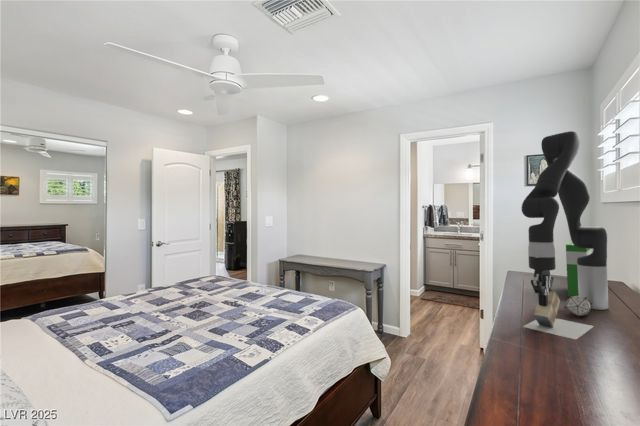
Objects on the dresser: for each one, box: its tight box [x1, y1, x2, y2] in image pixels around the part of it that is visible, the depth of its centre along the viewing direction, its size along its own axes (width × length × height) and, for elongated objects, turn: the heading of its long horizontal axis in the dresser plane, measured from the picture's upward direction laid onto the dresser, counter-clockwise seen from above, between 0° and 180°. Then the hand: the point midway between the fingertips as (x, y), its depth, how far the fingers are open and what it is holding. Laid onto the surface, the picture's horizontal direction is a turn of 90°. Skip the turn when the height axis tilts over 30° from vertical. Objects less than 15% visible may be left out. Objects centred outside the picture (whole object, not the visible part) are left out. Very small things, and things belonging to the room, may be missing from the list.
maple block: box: [533, 290, 561, 328], centre depth 109 cm, size 6×4×11 cm
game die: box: [563, 294, 594, 319], centre depth 118 cm, size 9×8×10 cm
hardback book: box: [565, 241, 593, 297], centre depth 150 cm, size 18×7×24 cm, turn 134°
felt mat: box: [522, 318, 595, 341], centre depth 108 cm, size 18×15×1 cm
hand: (543, 305), depth 107 cm, fingers closed
